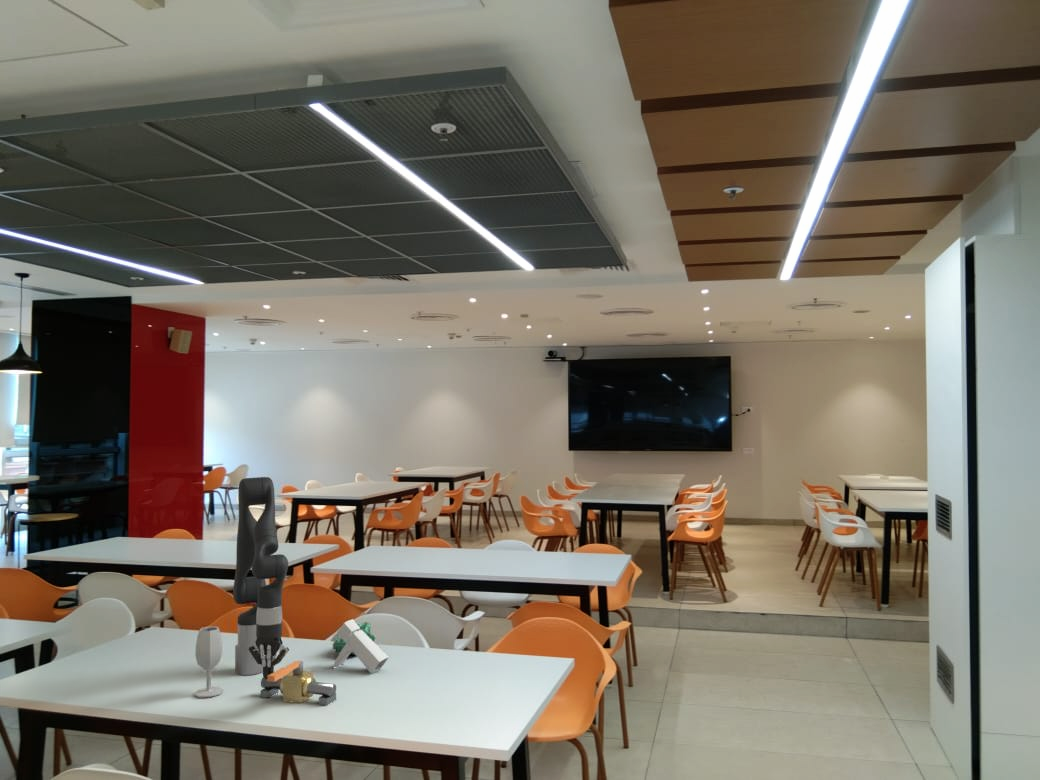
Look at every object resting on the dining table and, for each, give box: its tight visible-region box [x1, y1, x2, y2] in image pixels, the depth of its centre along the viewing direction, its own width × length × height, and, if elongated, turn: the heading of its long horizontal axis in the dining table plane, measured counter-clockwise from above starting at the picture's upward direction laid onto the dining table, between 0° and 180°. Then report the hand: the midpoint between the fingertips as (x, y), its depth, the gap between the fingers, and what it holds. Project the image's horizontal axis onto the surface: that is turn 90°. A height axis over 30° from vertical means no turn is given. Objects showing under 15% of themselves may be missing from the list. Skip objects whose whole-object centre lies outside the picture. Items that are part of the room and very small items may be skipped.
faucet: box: [330, 618, 390, 674], centre depth 268 cm, size 6×16×20 cm
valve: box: [260, 669, 337, 706], centre depth 239 cm, size 26×6×8 cm, turn 70°
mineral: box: [332, 621, 376, 656], centre depth 288 cm, size 18×16×10 cm
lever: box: [268, 660, 304, 682], centre depth 232 cm, size 17×3×4 cm, turn 165°
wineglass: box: [194, 625, 224, 699], centre depth 245 cm, size 9×9×21 cm
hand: (268, 678), depth 228 cm, fingers closed
